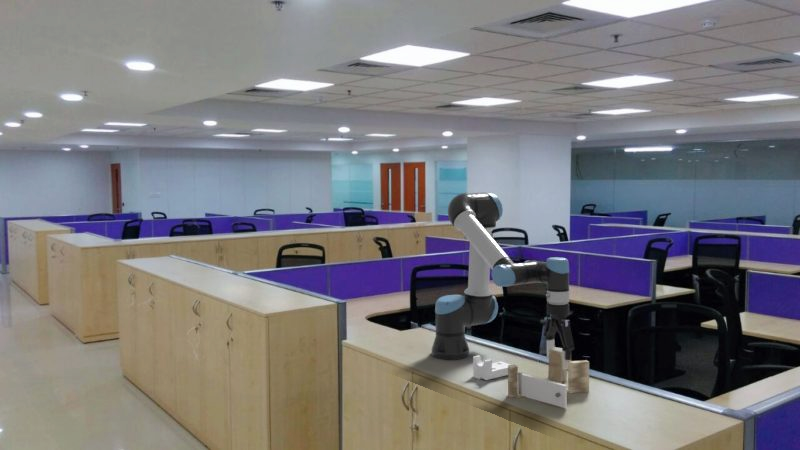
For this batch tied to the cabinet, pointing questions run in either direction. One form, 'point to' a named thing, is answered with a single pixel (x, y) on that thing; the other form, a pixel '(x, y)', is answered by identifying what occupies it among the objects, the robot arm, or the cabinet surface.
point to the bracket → (488, 368)
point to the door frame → (576, 378)
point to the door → (542, 390)
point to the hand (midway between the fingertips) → (558, 363)
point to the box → (556, 365)
